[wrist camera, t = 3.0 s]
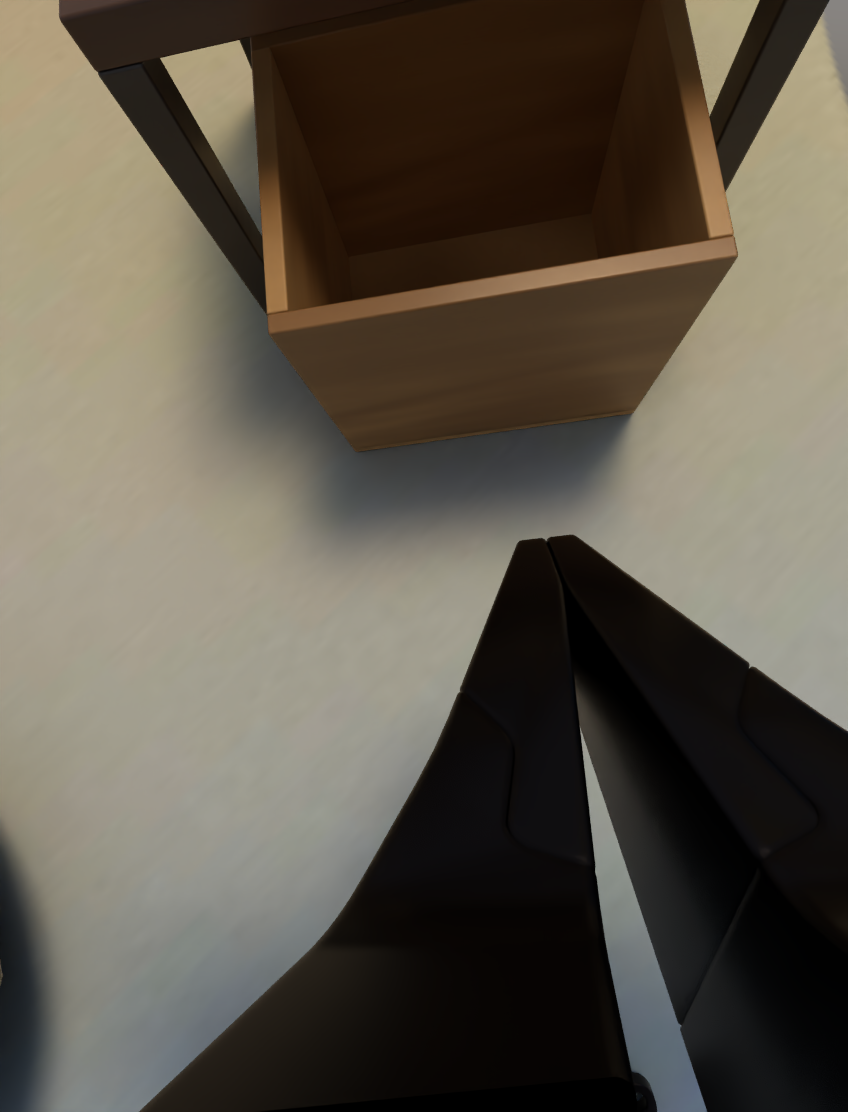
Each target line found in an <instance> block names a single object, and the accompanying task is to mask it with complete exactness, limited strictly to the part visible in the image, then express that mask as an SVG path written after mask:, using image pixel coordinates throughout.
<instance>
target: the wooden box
mask: <svg viewBox="0 0 848 1112" xmlns="http://www.w3.org/2000/svg"><path fill="white" fill-rule="evenodd" d="M250 43H251V60H252V76H253V92H254V109H255V125H256V141H257V157H258V174H259V190H260V206H261V222H262V239H263V255H264V271H265V288H266V304H267V314H268V333H269V335H270V337H271V338H272V339H273V341H274V342H275V343H276V345H277V346H278V347H279V349H280V350H281V351H282V353H283V354H284V356H285V357H286V358H287V360H288V361H289V362H290V364H291V365H292V366H293V368H294V369H295V370H296V372H297V373H298V374H299V376H300V377H301V378H302V380H303V381H304V383H305V384H306V385H307V387H308V388H309V389H310V391H311V392H312V393H313V395H314V396H315V397H316V399H317V400H318V401H319V403H320V404H321V405H322V407H323V408H324V410H325V411H326V412H327V414H328V415H329V416H330V418H331V419H332V420H333V422H334V423H335V424H336V426H337V427H338V428H339V430H340V431H341V433H342V434H343V435H344V437H345V438H346V439H347V441H348V442H349V443H350V445H351V446H352V447H353V449H354V450H355V451H356V452H359V451H367V450H374V449H381V448H388V447H395V446H402V445H409V444H417V443H424V442H431V441H438V440H445V439H452V438H459V437H467V436H474V435H481V434H488V433H495V432H502V431H509V430H517V429H524V428H531V427H538V426H545V425H552V424H559V423H567V422H574V421H581V420H588V419H595V418H602V417H609V416H617V415H624V414H631V413H634V411H635V410H636V408H637V407H638V405H639V404H640V402H641V401H642V399H643V398H644V396H645V395H646V393H647V392H648V390H649V389H650V387H651V386H652V384H653V383H654V381H655V380H656V378H657V377H658V375H659V374H660V372H661V371H662V369H663V368H664V366H665V365H666V363H667V362H668V360H669V359H670V357H671V356H672V354H673V353H674V351H675V350H676V348H677V347H678V346H679V344H680V343H681V341H682V340H683V338H684V337H685V335H686V334H687V332H688V331H689V329H690V328H691V326H692V325H693V323H694V322H695V320H696V319H697V317H698V316H699V314H700V313H701V311H702V310H703V308H704V307H705V305H706V304H707V302H708V301H709V299H710V298H711V296H712V295H713V293H714V292H715V290H716V289H717V287H718V286H719V284H720V283H721V281H722V280H723V278H724V277H725V275H726V274H727V272H728V271H729V269H730V268H731V266H732V265H733V263H734V262H735V260H736V259H737V257H738V252H737V247H736V243H735V238H734V236H733V234H734V232H733V227H732V222H731V218H730V213H729V208H728V203H727V199H726V194H725V189H724V184H723V179H722V175H721V170H720V165H719V160H718V156H717V151H716V146H715V141H714V137H713V132H712V127H711V122H710V118H709V113H708V108H707V103H706V98H705V94H704V89H703V84H702V79H701V75H700V70H699V65H698V60H697V56H696V51H695V46H694V41H693V37H692V32H691V27H690V22H689V17H688V13H687V8H686V3H685V0H413V1H409V2H404V3H400V4H396V5H391V6H387V7H382V8H378V9H373V10H369V11H365V12H360V13H356V14H351V15H347V16H343V17H338V18H334V19H329V20H325V21H321V22H316V23H312V24H307V25H303V26H298V27H294V28H290V29H285V30H281V31H276V32H272V33H268V34H263V35H259V36H254V37H250Z"/></svg>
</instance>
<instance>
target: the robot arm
mask: <svg viewBox="0 0 848 1112" xmlns="http://www.w3.org/2000/svg"><path fill="white" fill-rule="evenodd" d="M580 728H581V731H582V734H583V737H584V740H585V743H586V746H587V749H588V752H589V755H590V758H591V761H592V764H593V767H594V770H595V773H596V776H597V779H598V782H599V785H600V788H601V791H602V794H603V797H604V800H605V803H606V807H607V810H608V813H609V816H610V819H611V822H612V825H613V828H614V831H615V834H616V837H617V840H618V843H619V846H620V849H621V852H622V855H623V858H624V861H625V864H626V867H627V870H628V873H629V876H630V879H631V882H632V885H633V888H634V891H635V894H636V897H637V900H638V903H639V906H640V909H641V912H642V915H643V918H644V921H645V924H646V927H647V930H648V933H649V936H650V939H651V942H652V945H653V948H654V952H655V955H656V958H657V961H658V964H659V967H660V970H661V973H662V976H663V979H664V982H665V985H666V988H667V991H668V994H669V997H670V1000H671V1003H672V1006H673V1009H674V1012H675V1015H676V1018H677V1021H678V1023H679V1024H680V1025H681V1028H680V1031H681V1034H682V1037H683V1040H684V1043H685V1046H686V1049H687V1052H688V1055H689V1058H690V1061H691V1064H692V1067H693V1070H694V1073H695V1076H696V1079H697V1082H698V1085H699V1088H700V1091H701V1094H702V1097H703V1100H704V1103H705V1106H706V1109H707V1112H848V731H846V730H845V729H843V728H842V727H840V726H839V725H837V724H835V723H834V722H832V721H831V720H829V719H828V718H826V717H825V716H823V715H822V714H820V713H819V712H817V711H816V710H815V709H813V708H812V707H810V706H809V705H807V704H806V703H805V702H803V701H802V700H800V699H799V698H797V697H796V696H795V695H793V694H792V693H790V692H789V691H787V690H786V689H785V688H783V687H782V686H780V685H779V684H778V683H776V682H775V681H773V680H772V679H771V678H769V677H768V676H767V675H765V674H764V673H763V672H761V671H760V670H758V669H757V668H756V667H750V668H749V663H748V662H747V661H746V660H744V659H743V658H742V657H740V656H739V655H738V654H736V653H735V652H733V651H732V650H731V649H729V648H728V647H727V646H725V645H724V644H723V643H721V642H720V641H718V640H717V639H716V638H714V637H713V636H712V635H710V634H709V633H708V632H706V631H705V630H703V629H702V628H701V627H699V626H698V625H697V624H695V623H694V622H693V621H691V620H690V619H688V618H687V617H686V616H684V615H683V614H682V613H680V612H679V611H678V610H676V609H675V608H673V607H672V606H671V605H669V604H668V603H667V602H665V601H664V600H663V599H661V598H660V597H658V596H657V595H656V594H654V593H653V592H652V591H650V590H649V589H648V588H646V587H645V586H643V585H642V584H641V583H639V582H638V581H637V580H635V579H634V578H633V577H631V576H630V575H629V574H627V573H626V572H624V571H623V570H622V569H620V568H619V567H618V566H616V565H615V564H614V563H612V562H611V561H609V560H608V559H607V558H605V557H604V556H603V555H601V554H600V553H599V552H597V551H596V550H594V549H593V548H592V547H590V546H589V545H588V544H586V543H585V542H584V541H582V540H581V539H579V538H578V537H577V536H575V535H564V536H555V537H549V538H548V539H547V541H546V540H545V539H543V538H538V539H529V540H521V541H519V542H518V543H517V545H516V548H515V550H514V553H513V555H512V558H511V560H510V563H509V565H508V568H507V571H506V573H505V576H504V578H503V581H502V583H501V586H500V588H499V591H498V593H497V596H496V598H495V601H494V604H493V606H492V609H491V611H490V614H489V616H488V619H487V621H486V624H485V626H484V629H483V631H482V634H481V637H480V639H479V642H478V644H477V647H476V649H475V652H474V654H473V657H472V659H471V662H470V665H469V667H468V670H467V672H466V675H465V677H464V680H463V682H462V685H461V687H460V693H458V694H457V697H456V699H455V702H454V704H453V707H452V709H451V712H450V714H449V717H448V719H447V721H446V724H445V726H444V728H443V730H442V733H441V735H440V737H439V739H438V742H437V744H436V746H435V748H434V750H433V752H432V754H431V756H430V758H429V760H428V762H427V764H426V766H425V767H424V769H423V771H422V773H421V775H420V777H419V779H418V781H417V783H416V785H415V786H414V788H413V790H412V792H411V793H410V795H409V797H408V799H407V800H406V802H405V804H404V806H403V807H402V809H401V811H400V813H399V814H398V816H397V818H396V820H395V821H394V823H393V825H392V827H391V828H390V830H389V832H388V834H387V835H386V837H385V839H384V841H383V842H382V844H381V846H380V848H379V849H378V851H377V853H376V855H375V856H374V858H373V860H372V862H371V863H370V865H369V867H368V869H367V870H366V872H365V874H364V876H363V877H362V879H361V881H360V882H359V884H358V886H357V887H356V889H355V891H354V892H353V894H352V896H351V897H350V899H349V901H348V902H347V903H346V905H345V906H344V908H343V909H342V911H341V912H340V914H339V915H338V917H337V918H336V919H335V921H334V922H333V923H332V925H331V926H330V927H329V929H328V930H327V931H326V932H325V934H324V935H323V936H322V937H321V938H320V939H319V940H318V941H317V943H316V944H315V945H314V946H313V947H312V948H311V949H310V950H309V951H308V952H307V953H306V954H305V955H304V956H303V957H302V958H301V959H300V960H299V961H298V962H297V963H296V964H295V965H293V966H292V967H291V968H290V969H289V970H288V971H287V972H286V973H285V974H284V975H283V976H282V977H281V978H280V979H279V980H278V981H277V982H275V983H274V984H273V985H272V986H271V987H270V988H269V989H268V990H267V991H266V992H265V993H264V994H263V995H262V996H261V997H260V998H259V999H258V1000H256V1001H255V1002H254V1003H253V1004H252V1005H251V1006H250V1007H249V1008H248V1009H247V1010H246V1011H245V1012H244V1013H243V1014H242V1015H241V1016H240V1017H239V1018H237V1019H236V1020H235V1021H234V1022H233V1023H232V1024H231V1025H230V1026H229V1027H228V1028H227V1029H226V1030H225V1031H224V1032H223V1033H222V1034H221V1035H219V1036H218V1037H217V1038H216V1039H215V1040H214V1041H213V1042H212V1043H211V1044H210V1045H209V1046H208V1047H207V1048H206V1049H205V1050H204V1051H203V1052H202V1053H200V1054H199V1055H198V1056H197V1057H196V1058H195V1059H194V1060H193V1061H192V1062H191V1063H190V1064H189V1065H188V1066H187V1067H186V1068H185V1069H184V1070H183V1071H181V1072H180V1073H179V1074H178V1075H177V1076H176V1077H175V1078H174V1079H173V1080H172V1081H171V1082H170V1083H169V1084H168V1085H167V1086H166V1087H165V1088H163V1089H162V1090H161V1091H160V1092H159V1093H158V1094H157V1095H156V1096H155V1097H154V1098H153V1099H152V1100H151V1101H150V1102H149V1103H148V1104H147V1105H146V1106H144V1107H143V1108H142V1109H141V1110H140V1111H139V1112H657V1106H656V1101H655V1098H654V1095H653V1092H652V1090H651V1087H650V1084H649V1083H648V1081H647V1080H646V1079H645V1077H643V1076H642V1075H640V1074H639V1073H634V1072H631V1067H630V1062H629V1057H628V1052H627V1047H626V1042H625V1038H624V1033H623V1028H622V1023H621V1018H620V1013H619V1008H618V1003H617V998H616V993H615V989H614V984H613V979H612V974H611V969H610V964H609V959H608V954H607V948H606V943H605V937H604V930H603V923H602V916H601V910H600V902H599V894H598V886H597V877H596V874H595V859H594V850H593V841H592V832H591V823H590V814H589V805H588V796H587V787H586V778H585V769H584V760H583V751H582V743H581V734H580ZM636 1093H639V1094H642V1095H643V1097H642V1098H641V1099H640V1100H638V1101H637V1096H636Z"/></svg>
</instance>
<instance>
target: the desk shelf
mask: <svg viewBox="0 0 848 1112" xmlns="http://www.w3.org/2000/svg"><path fill="white" fill-rule="evenodd" d="M409 1H413V0H59V18H60V21H61V22H62V24H63V25H64V27H65V28H66V30H67V31H68V32H69V34H70V35H71V37H72V38H73V39H74V41H75V42H76V44H77V45H78V47H79V48H80V49H81V51H82V52H83V54H84V55H85V57H86V58H87V59H88V61H89V62H90V64H91V65H92V67H93V68H94V69H95V70H96V71H97V72H98V74H99V77H100V78H101V79H102V81H103V82H104V84H105V85H106V87H107V88H108V89H109V91H110V92H111V94H112V95H113V97H114V98H115V99H116V101H117V102H118V104H119V105H120V107H121V108H122V109H123V111H124V112H125V114H126V115H127V117H128V118H129V119H130V121H131V122H132V124H133V125H134V127H135V128H136V129H137V131H138V132H139V134H140V135H141V136H142V138H143V139H144V141H145V142H146V144H147V145H148V146H149V148H150V149H151V151H152V152H153V154H154V155H155V156H156V158H157V159H158V161H159V162H160V164H161V165H162V166H163V168H164V169H165V171H166V172H167V174H168V175H169V176H170V178H171V179H172V181H173V182H174V184H175V185H176V186H177V188H178V189H179V191H180V192H181V194H182V195H183V196H184V198H185V199H186V201H187V202H188V203H189V205H190V206H191V208H192V209H193V211H194V212H195V213H196V215H197V216H198V218H199V219H200V221H201V222H202V223H203V225H204V226H205V228H206V229H207V231H208V232H209V233H210V235H211V236H212V238H213V239H214V241H215V242H216V243H217V245H218V246H219V248H220V249H221V251H222V252H223V253H224V255H225V256H226V258H227V259H228V260H229V262H230V263H231V265H232V266H233V268H234V269H235V270H236V272H237V273H238V275H239V276H240V278H241V279H242V280H243V282H244V283H245V285H246V286H247V288H248V289H249V290H250V292H251V293H252V295H253V296H254V298H255V299H256V300H257V302H258V303H259V305H260V306H261V308H262V309H263V310H264V312H265V313H266V315H267V316H268V314H267V304H266V288H265V271H264V255H263V239H262V235H261V234H260V232H259V230H258V228H257V227H256V225H255V223H254V221H253V220H252V218H251V216H250V214H249V213H248V211H247V209H246V207H245V206H244V204H243V202H242V201H241V199H240V197H239V195H238V194H237V192H236V190H235V188H234V187H233V185H232V183H231V181H230V180H229V178H228V176H227V174H226V173H225V171H224V169H223V167H222V166H221V164H220V162H219V160H218V159H217V157H216V155H215V153H214V152H213V150H212V148H211V146H210V145H209V143H208V141H207V139H206V138H205V136H204V134H203V133H202V131H201V129H200V127H199V126H198V124H197V122H196V120H195V119H194V117H193V115H192V113H191V112H190V110H189V108H188V106H187V105H186V103H185V101H184V99H183V98H182V96H181V94H180V92H179V91H178V89H177V87H176V85H175V84H174V82H173V80H172V78H171V77H170V75H169V73H168V71H167V70H166V68H165V66H164V65H163V63H162V61H161V59H160V58H162V57H166V56H171V55H175V54H179V53H184V52H188V51H193V50H197V49H201V48H206V47H210V46H215V45H219V44H223V43H228V42H232V41H237V40H240V42H241V45H242V47H243V50H244V52H245V54H246V57H247V59H248V61H249V64H250V66H251V69H252V60H251V43H250V37H254V36H259V35H263V34H268V33H272V32H276V31H281V30H285V29H290V28H294V27H298V26H303V25H307V24H312V23H316V22H321V21H325V20H329V19H334V18H338V17H343V16H347V15H351V14H356V13H360V12H365V11H369V10H373V9H378V8H382V7H387V6H391V5H396V4H400V3H404V2H409ZM828 2H829V0H760V1H759V3H758V5H757V8H756V10H755V12H754V15H753V17H752V19H751V22H750V24H749V26H748V29H747V31H746V33H745V36H744V38H743V40H742V43H741V45H740V47H739V49H738V52H737V54H736V56H735V59H734V61H733V63H732V66H731V68H730V70H729V73H728V75H727V77H726V80H725V82H724V84H723V87H722V89H721V91H720V94H719V96H718V98H717V100H716V103H715V105H714V107H713V110H712V112H711V114H710V117H709V118H710V122H711V127H712V132H713V137H714V141H715V146H716V151H717V156H718V160H719V165H720V170H721V175H722V179H723V184H724V189H725V192H726V190H727V188H728V187H729V185H730V183H731V181H732V179H733V177H734V175H735V174H736V172H737V170H738V168H739V166H740V164H741V163H742V161H743V159H744V157H745V155H746V153H747V151H748V150H749V148H750V146H751V144H752V142H753V140H754V139H755V137H756V135H757V133H758V131H759V129H760V127H761V126H762V124H763V122H764V120H765V118H766V116H767V115H768V113H769V111H770V109H771V107H772V105H773V103H774V102H775V100H776V98H777V96H778V94H779V92H780V91H781V89H782V87H783V85H784V83H785V81H786V79H787V78H788V76H789V74H790V72H791V70H792V68H793V67H794V65H795V63H796V61H797V59H798V57H799V55H800V54H801V52H802V50H803V48H804V46H805V44H806V43H807V41H808V39H809V37H810V35H811V33H812V31H813V30H814V28H815V26H816V24H817V22H818V20H819V19H820V17H821V15H822V13H823V11H824V9H825V7H826V6H827V4H828Z"/></svg>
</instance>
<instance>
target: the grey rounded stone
mask: <svg viewBox="0 0 848 1112" xmlns="http://www.w3.org/2000/svg"><path fill="white" fill-rule="evenodd" d="M2 977H3V973H2V970H1V961H0V986H1V982H2Z"/></svg>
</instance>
